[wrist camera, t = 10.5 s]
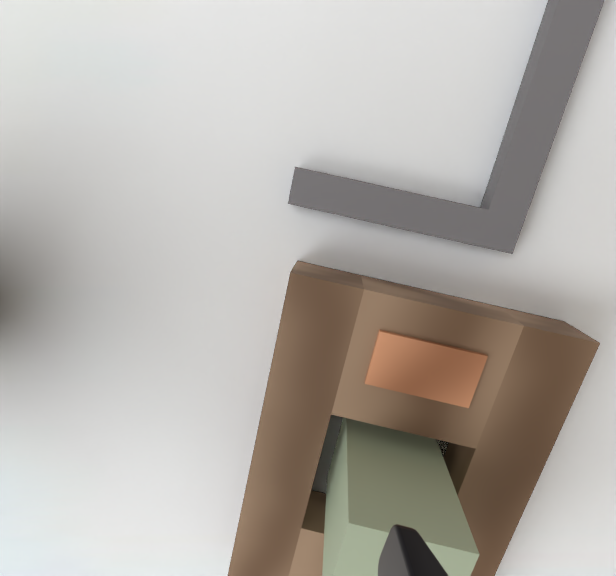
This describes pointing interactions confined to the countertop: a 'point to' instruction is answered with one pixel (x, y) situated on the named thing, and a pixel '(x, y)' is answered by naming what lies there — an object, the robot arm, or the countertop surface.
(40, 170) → the countertop surface
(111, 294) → the countertop surface
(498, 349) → the socket holder
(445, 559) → the pale green block
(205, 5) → the countertop surface
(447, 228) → the bracket
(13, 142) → the countertop surface
